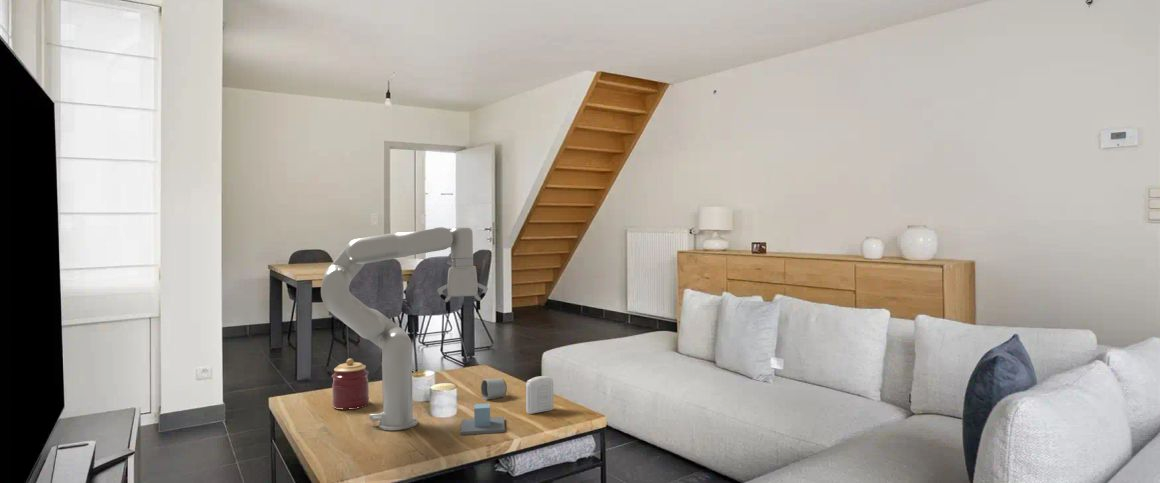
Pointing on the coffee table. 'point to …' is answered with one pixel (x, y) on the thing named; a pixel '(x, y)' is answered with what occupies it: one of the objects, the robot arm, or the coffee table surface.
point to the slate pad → (494, 427)
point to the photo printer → (539, 394)
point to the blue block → (482, 415)
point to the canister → (350, 385)
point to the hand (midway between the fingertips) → (463, 312)
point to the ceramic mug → (493, 388)
